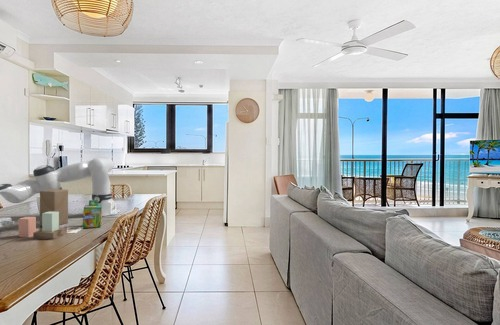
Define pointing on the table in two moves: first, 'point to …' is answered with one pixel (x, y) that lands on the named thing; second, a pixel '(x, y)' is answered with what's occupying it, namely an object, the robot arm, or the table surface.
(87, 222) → the green printed box
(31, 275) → the table surface
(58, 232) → the walnut base
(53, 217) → the sage brick
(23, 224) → the coral brick
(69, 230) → the page
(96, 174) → the robot arm
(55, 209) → the wooden block
